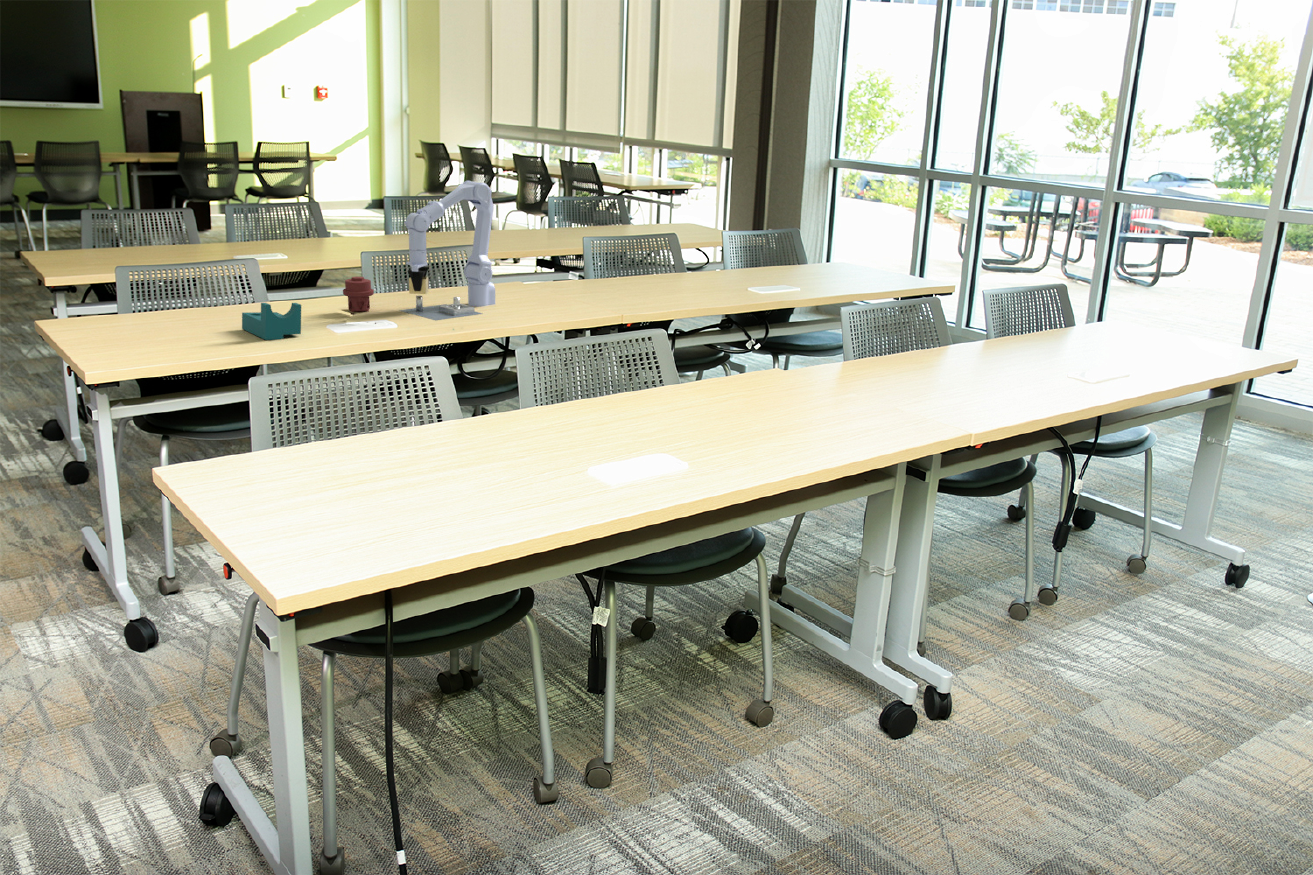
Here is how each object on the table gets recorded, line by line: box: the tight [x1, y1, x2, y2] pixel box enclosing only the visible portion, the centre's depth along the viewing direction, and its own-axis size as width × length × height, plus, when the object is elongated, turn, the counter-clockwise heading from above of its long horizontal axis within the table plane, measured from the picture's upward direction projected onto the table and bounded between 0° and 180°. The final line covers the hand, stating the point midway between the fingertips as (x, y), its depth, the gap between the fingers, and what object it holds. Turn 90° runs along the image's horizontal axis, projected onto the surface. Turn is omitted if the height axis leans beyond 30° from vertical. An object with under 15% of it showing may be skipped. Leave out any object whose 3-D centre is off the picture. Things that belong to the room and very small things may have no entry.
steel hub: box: [439, 296, 476, 316], centre depth 348 cm, size 9×9×5 cm
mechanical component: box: [342, 276, 375, 316], centre depth 343 cm, size 12×10×10 cm
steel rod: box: [415, 294, 424, 312], centre depth 348 cm, size 2×2×5 cm
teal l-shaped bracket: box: [241, 302, 302, 341], centre depth 309 cm, size 18×11×10 cm, turn 42°
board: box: [398, 303, 484, 321], centre depth 349 cm, size 20×21×1 cm
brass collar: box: [408, 276, 429, 295], centre depth 346 cm, size 6×6×5 cm
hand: (419, 289), depth 346 cm, fingers closed on brass collar, 6 cm apart
